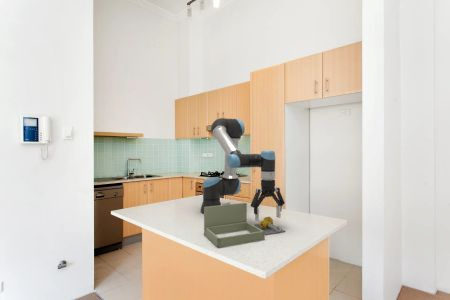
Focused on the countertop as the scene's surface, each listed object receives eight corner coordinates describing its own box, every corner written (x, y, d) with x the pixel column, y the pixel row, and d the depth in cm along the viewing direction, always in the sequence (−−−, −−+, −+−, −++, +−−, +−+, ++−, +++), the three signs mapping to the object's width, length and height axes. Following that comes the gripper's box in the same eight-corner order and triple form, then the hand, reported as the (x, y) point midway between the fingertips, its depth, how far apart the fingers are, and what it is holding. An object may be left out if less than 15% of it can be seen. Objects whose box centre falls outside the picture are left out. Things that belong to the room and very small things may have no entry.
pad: (249, 226, 137) (249, 225, 137) (267, 223, 142) (267, 222, 142) (265, 235, 122) (265, 234, 122) (285, 232, 127) (285, 230, 127)
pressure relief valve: (256, 227, 131) (266, 223, 138) (277, 236, 123) (285, 231, 131) (258, 217, 130) (267, 214, 138) (279, 226, 123) (287, 221, 131)
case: (204, 234, 123) (204, 204, 123) (245, 228, 133) (245, 200, 133) (218, 248, 106) (218, 213, 106) (264, 239, 116) (264, 208, 116)
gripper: (251, 181, 123) (251, 223, 123) (291, 178, 133) (291, 218, 133) (244, 179, 129) (244, 219, 129) (282, 177, 140) (282, 214, 140)
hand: (268, 218), depth 131 cm, fingers open, 13 cm apart
